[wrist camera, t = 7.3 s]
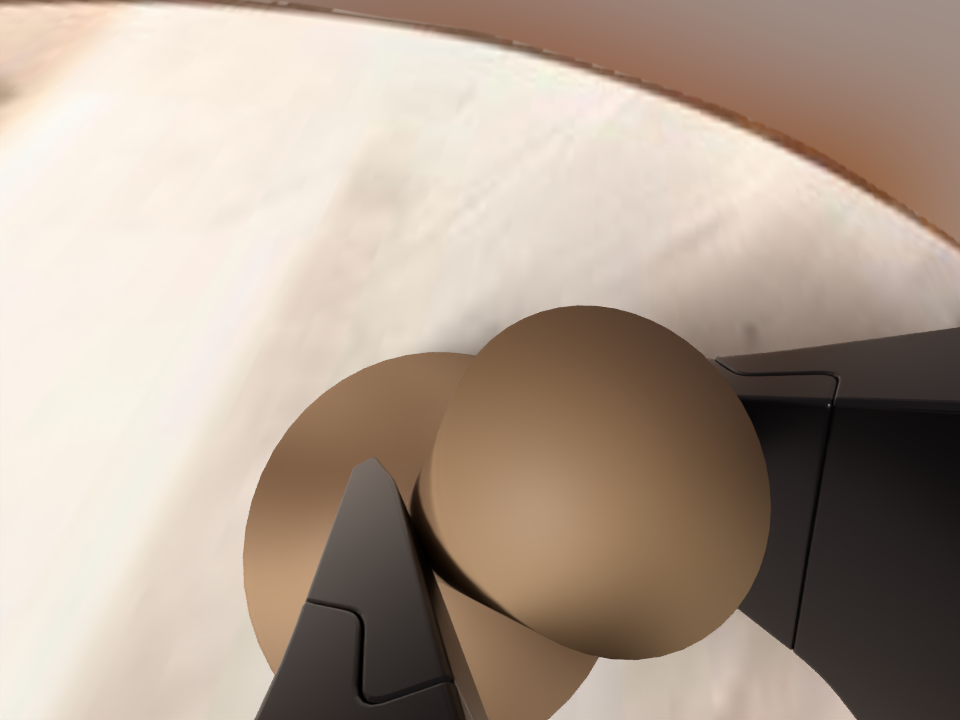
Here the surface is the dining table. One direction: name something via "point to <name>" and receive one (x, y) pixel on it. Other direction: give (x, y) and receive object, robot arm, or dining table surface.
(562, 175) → the dining table surface
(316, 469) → the lid
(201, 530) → the dining table surface
